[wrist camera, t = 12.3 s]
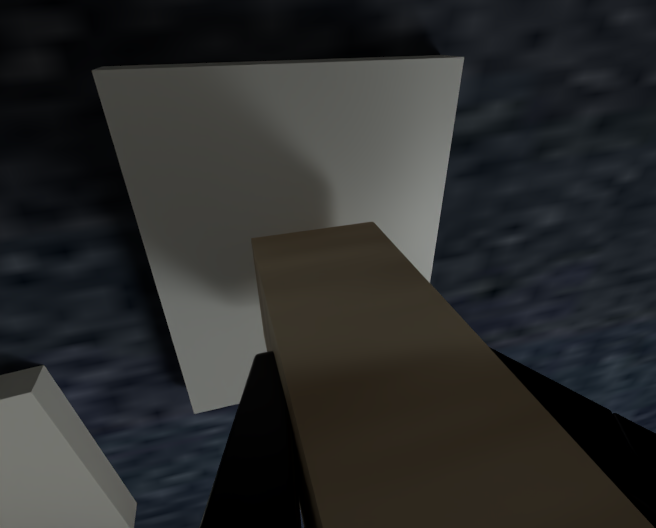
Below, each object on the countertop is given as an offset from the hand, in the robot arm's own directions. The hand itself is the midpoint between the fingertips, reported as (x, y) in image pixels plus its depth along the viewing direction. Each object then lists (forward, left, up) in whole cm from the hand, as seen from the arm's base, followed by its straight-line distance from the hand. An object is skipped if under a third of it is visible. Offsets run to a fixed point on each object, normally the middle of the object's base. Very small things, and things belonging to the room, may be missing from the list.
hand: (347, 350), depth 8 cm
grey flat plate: (0, 0, -4) cm, 5 cm away
